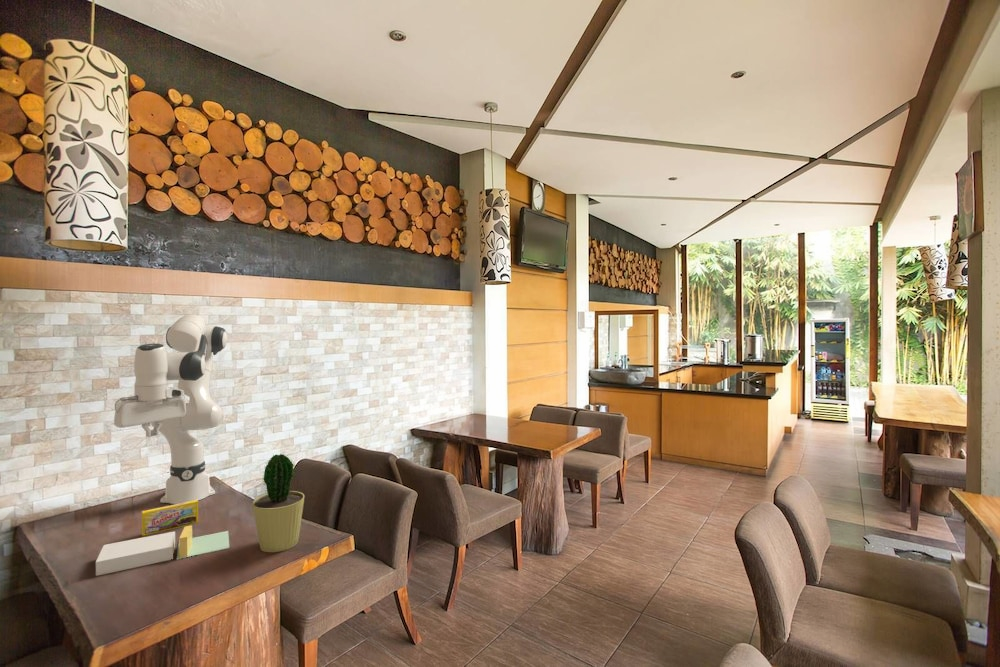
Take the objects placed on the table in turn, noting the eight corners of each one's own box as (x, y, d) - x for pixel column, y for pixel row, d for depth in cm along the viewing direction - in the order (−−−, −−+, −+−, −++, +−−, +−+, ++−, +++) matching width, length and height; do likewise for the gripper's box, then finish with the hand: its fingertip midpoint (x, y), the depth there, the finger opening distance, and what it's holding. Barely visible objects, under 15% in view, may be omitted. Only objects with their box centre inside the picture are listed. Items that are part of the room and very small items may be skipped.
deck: (104, 557, 144) (103, 544, 144) (175, 543, 154) (175, 531, 154) (95, 575, 134) (95, 562, 134) (172, 559, 144) (172, 546, 143)
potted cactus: (250, 559, 144) (248, 462, 143) (255, 537, 158) (254, 449, 157) (304, 550, 149) (303, 456, 149) (305, 530, 164) (304, 444, 163)
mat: (179, 541, 155) (179, 540, 155) (228, 531, 162) (228, 530, 162) (176, 559, 143) (176, 558, 143) (229, 548, 151) (229, 547, 151)
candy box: (142, 537, 158) (141, 512, 158) (141, 535, 160) (141, 510, 160) (198, 523, 169) (198, 500, 169) (197, 521, 171) (197, 498, 171)
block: (184, 526, 152) (192, 525, 153) (185, 544, 152) (192, 543, 153) (179, 538, 144) (187, 536, 145) (179, 557, 144) (187, 556, 145)
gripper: (121, 399, 143) (121, 444, 143) (188, 390, 162) (189, 430, 162) (108, 397, 145) (109, 442, 146) (177, 389, 164) (177, 428, 164)
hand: (152, 435), depth 154 cm, fingers closed
